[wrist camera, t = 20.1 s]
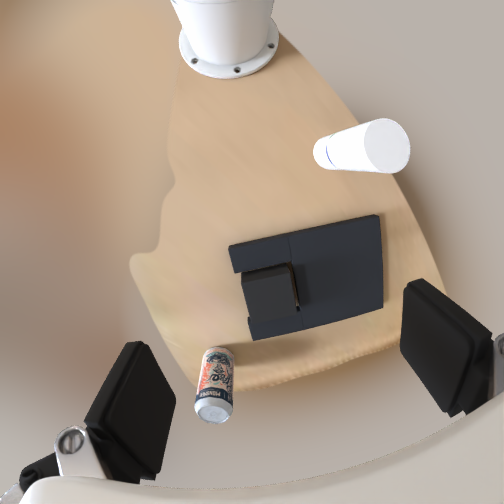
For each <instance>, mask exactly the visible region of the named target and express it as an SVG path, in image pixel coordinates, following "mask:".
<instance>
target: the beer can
mask: <svg viewBox="0 0 504 504" xmlns="http://www.w3.org/2000/svg"><path fill="white" fill-rule="evenodd" d="M233 382H234V356H233V354H232V353H231V352H230V351H229V350H227V349H225V348H221V347H214V348H211V349H209V350H207V351H206V352H205V354H204V356H203V362H202V367H201V373H200V378H199V384H198V390H197V395H196V401H195V410H196V412H197V414H198V416H199V418H200V419H202V420H203V421H205V422H207V423H213V424H218V423H223V422H225V421H226V420H227V419H228V418H229V416H230V415H231V414H232V412H233Z"/></svg>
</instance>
